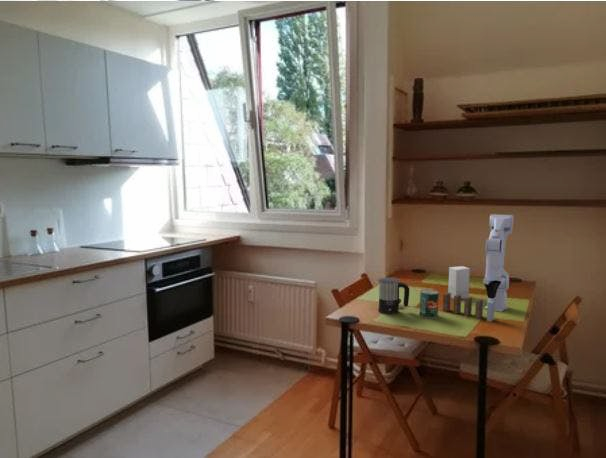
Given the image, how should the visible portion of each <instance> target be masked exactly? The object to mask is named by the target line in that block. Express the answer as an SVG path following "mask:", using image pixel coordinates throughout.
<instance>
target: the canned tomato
mask: <svg viewBox="0 0 606 458" xmlns="http://www.w3.org/2000/svg"><path fill="white" fill-rule="evenodd" d="M439 293H440V292H439V291H438V290H435V289H427V288H426V289H421V290H420V291H419V313H418V314H419V317H421V318H425V319H436V318H439V317H438V316H439V315H438V314H439Z"/></svg>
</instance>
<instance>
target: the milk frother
mask: <svg viewBox="0 0 606 458" xmlns="http://www.w3.org/2000/svg"><path fill="white" fill-rule="evenodd" d="M378 283H379V285H378V288H379V290H378V294H379V295H378V310H377V311H378V313H382V314H385V315H394V314H398V313H399V308H400V304H401V303H402V299H401V298H400V288H403V290H404V291H403V293H404V294H403V304H402V305H403V307H408V306H409V299H410V287H409V285H408V284H406V283H405V282H402V281H400V279H398V278H395V277H381V278H379V279H378Z"/></svg>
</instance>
